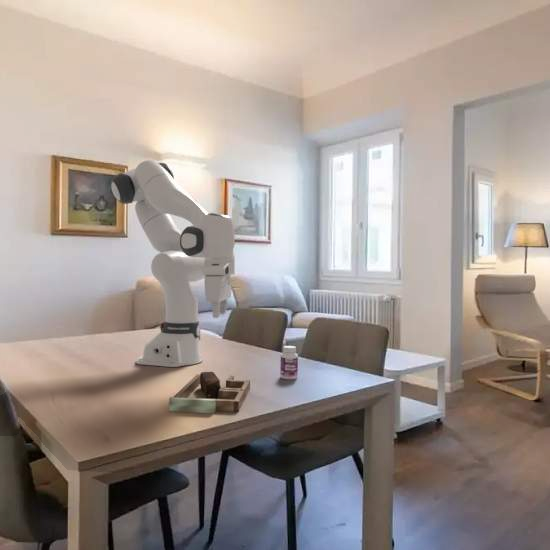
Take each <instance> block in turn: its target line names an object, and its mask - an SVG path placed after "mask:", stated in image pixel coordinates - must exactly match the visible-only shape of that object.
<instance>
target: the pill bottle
mask: <svg viewBox="0 0 550 550" xmlns="http://www.w3.org/2000/svg"><path fill="white" fill-rule="evenodd" d="M282 351H283V352H282V353H281V354H280V366H279V367H280V371H279V372H280V373H279V377H280V378H281V379H284V380H296V379H297V378H298V370H299V355H298V353H297V347H296V346H295V345H294V346H293V345H284V346H282Z"/></svg>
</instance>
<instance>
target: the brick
mask: <svg viewBox="0 0 550 550" xmlns="http://www.w3.org/2000/svg"><path fill="white" fill-rule="evenodd" d="M199 385H200V388H201V391H202V393H203V395H204V396H205V399H212V398H218V391H219V389H220V388H222V387H221V380H220V378H218V376H217V375H216V374H215V372H214V371H203V372H202V371H201V372H200V384H199Z"/></svg>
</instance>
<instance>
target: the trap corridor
mask: <svg viewBox="0 0 550 550" xmlns="http://www.w3.org/2000/svg"><path fill="white" fill-rule="evenodd" d="M200 374H201V373H200ZM200 374H199V373H198V374H196V375H194V376H193V378H191V379H190V380H189V381H188V382H187V383H186V384H185V385H184V386H183V387H181V389H180V390H178V392H177V393H176V394H174V396H172V397H171V396H170V398H169V399H168V412H177V413H178V412H179V413H183V412H184V413H198V414H199V413H200V414H201V413H202V414H203V413H204V414H216V412H232V413H233V412H234V413H235V412H237V413H238V412H239V411H240V410H241V408H242V406H243V404H244V401H245V400H246V398H247V396H248V394H249V392H250V390H251V381H250V380H248V379H247V380H246V379H245V380H243V379H242V380H241V379H235V375H229V376H228V377H227V379H226V380H225V387H221V388H220V389H219V391H218V397H217V398H195V397H189V396H191V394H193V392H194V391H195V390H196V389H197V388H198V387H199V385H200Z"/></svg>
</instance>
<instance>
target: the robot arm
mask: <svg viewBox="0 0 550 550" xmlns="http://www.w3.org/2000/svg"><path fill="white" fill-rule="evenodd" d="M110 185H111V192H112V193H113V196H114V198H115V199H116V200H117V201H118V202H119V203H120V204H122V205H129V204H133V202H134V203H135V202H136V203H135V205H134V206H135V207H134V209H135V213H136V216H137V219H138V221H139V224H140V226H141V228H142V230H143V231H144V233H145V235H146V237H147V239H148V241H149V243H150V244H151V246H152V247H153V248H154V249H155V250H156V251H157V252H159V253H158V254H156V255H155V256H154V257H153V259H152V261H151V264H150V266H151V270H150V271H151V273H152V275H153V277H154V278H155V279H156V280H157V281H158V282H159V284H160V286H161V288H162V290H163V294H164V295H163V296H164V300H165V321H163V322H162V323H161V324H159V327H158V328H159V329H160V332H159V333H157V334H156V335H155V336H154V337H153V338H151V339H150V340H149V341H148V342H147V343H146V344H145V345H144V348H143V353H142V355H141V356H139V357H138V358H136V362H135V363H136V364H137V365H143V366H144V365H146V366H157V367H158V366H159V367H166V368H167V367H168V368H178V367H183V366H190V365H196V364H199V363H201V362H203V358H202V355H201V350H200V343H199V341H200V340H198V337H199V329H200V322H199V301H198V298H197V296H195V295H194V293H193V291H192V288H191V284H190V283H191V282H192V283H196V282H198V281H202V280H203V279H204V294H205V295H204V296H205V301H206V302H207V303H210V307H211V310H212V318H213V319H215V318H216V319H218V318H220V316H221V315H225V314H226V313H227V304H228V299H229V298H230V299H231V296H232V279H231V275H235V272H236V271H235V266H236V265H235V263H236V262H235V258H236V257H235V253H234V248H235V243H236V241H235V237H236V236H235V235H236V234H235V225H234V224H235V223H234V220H233V217H231V216H229V215H227V214H221V213H215V212H210V213H209V212H208V211H207V210H206V209H205V208H204V207H203V206H202V205H201V204H200V203H199V202H198V201H196V199H194V198H193V197H192V196H191V195H190V194H189V193H187V191H185V190H184V189H183V187H181V186H180V184H179V183H178V182H177V181H176V179H175V177H174V173H173V170H172V169H171V167H170V166H169V165H168V164H167V163H165V162H158V161H156V160H151V159H148V160H144V161H142V162H140V163H138V165H136V168H133V169H131V170H128V171H125V172H123V173H118V174H116V175H114V176H113V177H112V178H111V181H110ZM172 216H176V217H179V218H182V219H184V220H186V221H188V222H190V224H191V225H190V226H187V227H185V228H184V229H183V230H182V231H181V230H180V228H179V227H178V225H177V223H176V222H175V221H174V218H173V217H172Z"/></svg>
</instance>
